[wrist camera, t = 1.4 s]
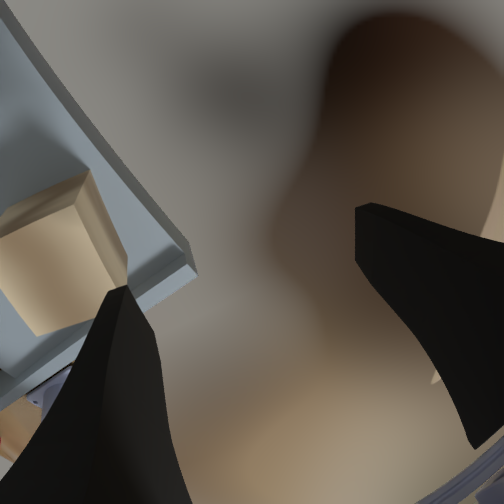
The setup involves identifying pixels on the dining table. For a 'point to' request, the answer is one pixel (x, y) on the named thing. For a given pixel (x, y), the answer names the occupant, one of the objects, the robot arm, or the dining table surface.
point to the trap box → (55, 171)
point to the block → (60, 255)
